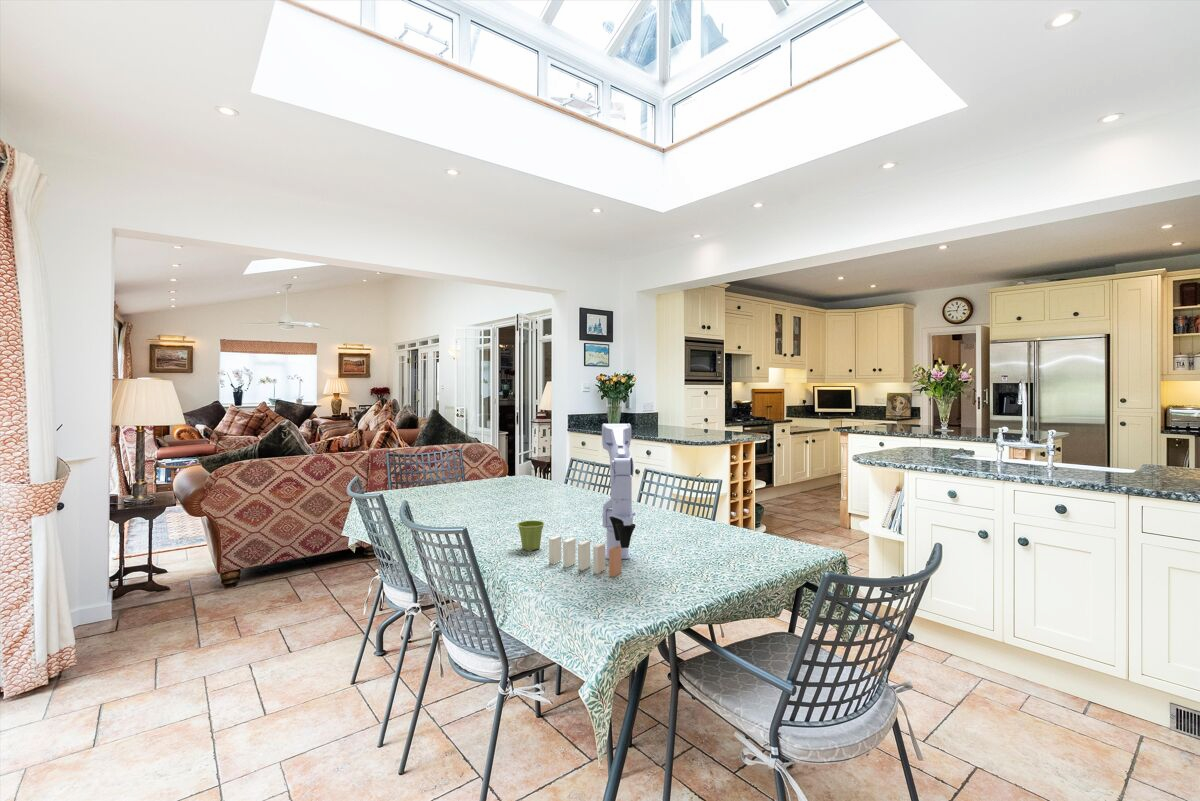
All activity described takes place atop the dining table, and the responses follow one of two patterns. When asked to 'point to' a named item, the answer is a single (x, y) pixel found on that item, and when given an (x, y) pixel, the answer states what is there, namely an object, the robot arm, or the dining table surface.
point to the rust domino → (615, 561)
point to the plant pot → (530, 534)
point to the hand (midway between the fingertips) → (622, 543)
